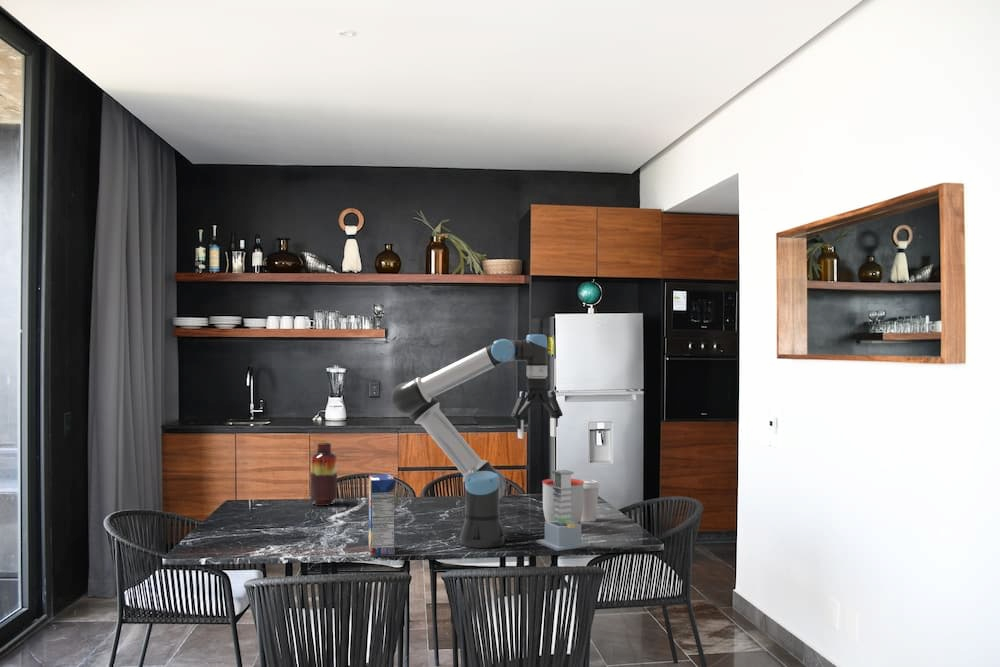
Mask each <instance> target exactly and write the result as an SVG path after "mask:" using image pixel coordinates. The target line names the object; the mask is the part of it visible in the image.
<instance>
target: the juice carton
mask: <svg viewBox="0 0 1000 667" xmlns="http://www.w3.org/2000/svg"><path fill="white" fill-rule="evenodd" d="M395 496H396V479H395V477H394V475H393V474H391V473H387V474H385V473H384V474H369V475H368V550H370V551H369V554H370V553H371V554H370V557H378V556H381V557H383V556H395V552H396V551H395V550H396V549H395V535H396V534H395V532H396V531H395V528H396V527H395V526H396V525H395V524H396V521H395V519H396V518H395V517H396V516H395V515H396V514H395V513H396V512H395V511H396V510H395V509H396V497H395Z"/></svg>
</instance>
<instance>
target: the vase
mask: <svg viewBox="0 0 1000 667" xmlns="http://www.w3.org/2000/svg"><path fill="white" fill-rule="evenodd" d="M316 448H317V449H316V453H314V454H312V456H311V457H310V499H311V500H312V501H313V502H312V505H313V504H317V505H326V504H331V503H334V504H335V501H334V500H336V499H337V496H338V456H337V455H336V453H334V452H332V442H328V441H326V442H317V445H316Z"/></svg>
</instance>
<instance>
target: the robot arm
mask: <svg viewBox="0 0 1000 667" xmlns="http://www.w3.org/2000/svg"><path fill="white" fill-rule="evenodd" d="M548 348H549V347H548V337H547V336H546V335H545V334H527V335H526V338H525V339H522V340H521V339H520V340H517V339H516V340H515V339H507V338H500V339H497V340H494V341H493V343H492V344H491V343H490V345H487V346H485V347H483V348H482V349H479V350H477V351H475V352H472V353H471V354H469V355H468V356H465V357H463V358H461V359H459V360H456V361H455V362H453V363H451V364H449V365H446V366H444V367H443V368H440V369H438V370H437V371H434V372H432V373H430V374H427V375H426V376H424V377H420V376H418V377H416V378H413V379H411V380H408V381H405V382H402V383H399V384H398V385H396V386H395V388H394V389H393V391H392V393H391V398H390V399H391V400H390V401H391V405H392V407H393V409H394V410H395V411H396V412H397V413H399V414H401V415H404V416H408V417H409V418H410V419H411V421H412V422H413V423H414V424H415V425H421V427H423V429H425V431H426V433H428V434H429V436H430V437H431V439H433V441H434V442H435V444H437V446H438V447H439V448H440V449H441V451H442V452H443V453H444V454H445V456H446V457H447V458H448V459H449V461H451V462H452V464H453V465H454V466H455V467H456V468H457V470H458V471H459V472H460V473H461V475H462V483H463V484H464V498H465V499H464V500H465V501H464V510H465V511H464V514H465V516H464V523H463V526H462V529H461V532H460V535H459V544H460V545H461V546H464V547H468V548H476V549H477V548H478V549H479V548H480V549H481V548H482V549H485V548H494V547H500V546H502V545H504V544H505V534H504V531H503V528H502V524H501V521H500V500H502V499H503V497H504V496H505V494H506V491H507V481H506V478H505V476H504V474H502V472H500V471H499V470H498V469H495V468H494V467H493V465H492V464H491V463H490V462H489V461H488V460H487V459H486V460H484V459H481V457H479V455H478V454H477V453H476V451H475V450H474V449H473V448H472V446H470V445H469V443H468V442H467V441H466V439H464V437H463V436H462V435H461V433H459V431H458V430H457V429H456V427H455V426H454V425H453V424H452V423H451V422H450V420H449V419H448V418H447V417H446V415H444V413H443V412H442V410H440V402H439V401H438V399H437V398H436V396H438V395H441V394H442V393H445V392H446V391H448V390H450V389H453V388H455V387H457V386H458V385H459V386H460V385H461V384H463V383H465V382H467V381H469V380H472V379H473V378H475V377H477V376H479V375H481V374H484V373H485V372H487V371H490V370H492V369H493V368H495V367H498V366H501V365H502V364H504V363H507V362H526V373H525V374H526V377H527V378H526V392H525V391H521V390H520V391H519V392H518V398H517V400H516V403H515V405H514V406H513V410H512V412H511V414H510V417H511V418H513V419H514V420H515V429H517V439H521V440H523V439H524V419H523V418H524V416H525V415H526V414H527V412H528V410H529V409H530V408H531V407H532V406H533V405H537V404H539V405H540V404H541V405H543V406H544V408H545V409H546V410H547V412H548V413H549V415H550V416H551V417H550V419H549V424H550V425H549V430H550V432H549V433H550V436H549V437H553V438H555V437H557V427H558V426H559V423H558V421H559V420H558V419H560V417H563V412H562V409H561V407H560V404H559V401H558V400H557V398H556V392H555V390H548V384H549V383H548V380H549V379H548V378H547V377H548V358H549V357H548V355H549V354H548V353H549V352H548ZM547 397H548V399H549V400H550V401H549V400H548V399H547ZM526 398H527V399H526ZM525 399H526V400H525ZM524 401H525V402H524ZM550 403H551V404H550Z"/></svg>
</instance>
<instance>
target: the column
mask: <svg viewBox="0 0 1000 667" xmlns="http://www.w3.org/2000/svg"><path fill="white" fill-rule="evenodd" d="M551 473H552V474H554V482H555V487H553V489H554V490H555V493H553V495H555V499H553V501H555V505H553V507H555V511H553V513H555V516H554V517H553V519H555V524H557V525H560V526H565V525H567V524H571V520H573V518H572V517H571V514H573V512H572V511H571V508H573V506H571V502H573V500H571V496H573V494H571V490H573V488H571V479H572V475H574V471H572V470H568V469H567V470H566V469H561V470H559V469H558V470H552V471H551Z"/></svg>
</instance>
